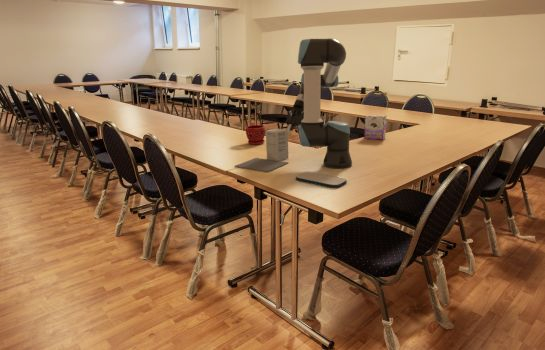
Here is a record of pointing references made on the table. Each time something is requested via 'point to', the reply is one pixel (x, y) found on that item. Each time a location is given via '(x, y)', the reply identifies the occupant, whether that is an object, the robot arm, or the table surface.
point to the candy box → (375, 127)
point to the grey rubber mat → (261, 164)
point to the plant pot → (255, 134)
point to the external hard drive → (321, 180)
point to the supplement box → (277, 144)
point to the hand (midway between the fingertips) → (287, 134)
